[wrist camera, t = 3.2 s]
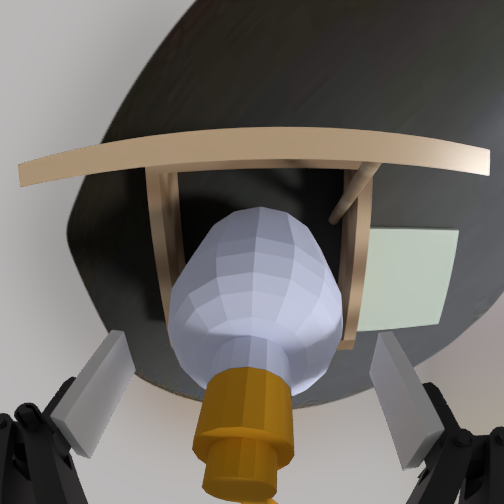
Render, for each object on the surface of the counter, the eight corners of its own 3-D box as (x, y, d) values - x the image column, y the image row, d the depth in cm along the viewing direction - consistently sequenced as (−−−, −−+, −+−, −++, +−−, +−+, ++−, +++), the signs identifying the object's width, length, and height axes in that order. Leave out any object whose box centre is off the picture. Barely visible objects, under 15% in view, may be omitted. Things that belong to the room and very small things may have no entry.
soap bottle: (234, 304, 32) (187, 528, 10) (193, 217, 29) (30, 402, 7) (326, 273, 30) (401, 500, 8) (292, 178, 27) (389, 329, 5)
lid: (162, 148, 27) (18, 164, 9) (357, 143, 26) (490, 150, 8) (162, 158, 27) (20, 187, 9) (358, 153, 26) (489, 175, 8)
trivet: (361, 226, 29) (363, 228, 28) (455, 228, 28) (458, 230, 27) (349, 327, 33) (350, 331, 32) (435, 320, 32) (438, 323, 31)
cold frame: (164, 153, 27) (101, 160, 16) (356, 148, 26) (410, 152, 15) (183, 322, 34) (150, 394, 22) (343, 322, 32) (369, 397, 21)
